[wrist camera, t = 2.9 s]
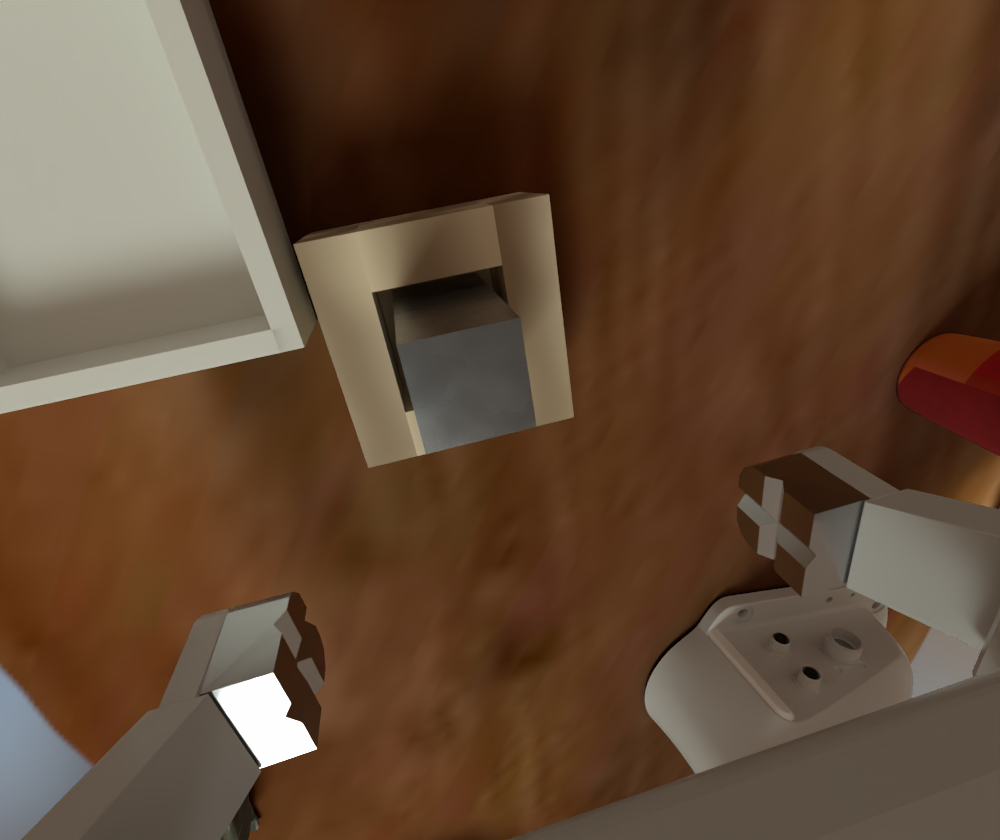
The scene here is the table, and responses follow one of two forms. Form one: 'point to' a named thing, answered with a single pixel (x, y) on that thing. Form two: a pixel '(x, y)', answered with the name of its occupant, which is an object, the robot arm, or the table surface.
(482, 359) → the pin
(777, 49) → the table surface
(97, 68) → the grey tray
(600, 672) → the table surface
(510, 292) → the socket block
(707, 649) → the robot arm
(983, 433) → the paper cup
